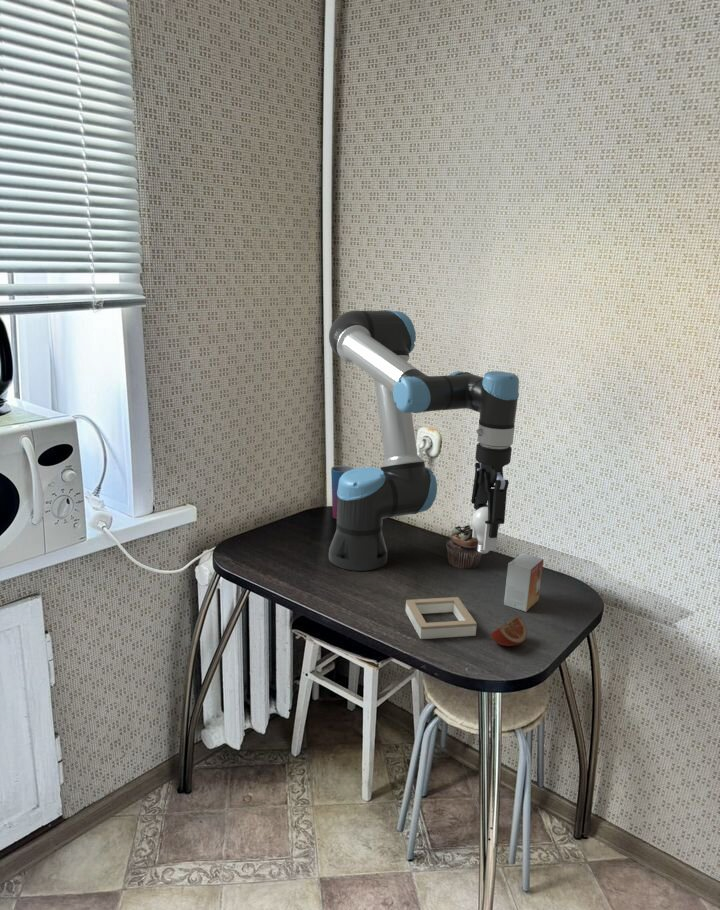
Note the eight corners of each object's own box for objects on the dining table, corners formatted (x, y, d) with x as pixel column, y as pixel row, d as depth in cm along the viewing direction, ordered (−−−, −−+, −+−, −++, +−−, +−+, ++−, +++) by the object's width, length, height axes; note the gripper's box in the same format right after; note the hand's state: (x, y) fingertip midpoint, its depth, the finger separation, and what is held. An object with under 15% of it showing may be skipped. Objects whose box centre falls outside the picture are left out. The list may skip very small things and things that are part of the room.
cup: (330, 520, 210) (331, 471, 206) (329, 512, 217) (330, 465, 213) (353, 520, 211) (355, 472, 207) (351, 512, 217) (353, 465, 213)
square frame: (405, 611, 158) (406, 599, 157) (456, 608, 161) (457, 597, 160) (420, 639, 147) (421, 626, 146) (475, 635, 149) (476, 623, 149)
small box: (526, 612, 160) (531, 569, 157) (503, 605, 163) (507, 562, 160) (539, 600, 166) (544, 558, 164) (516, 593, 170) (521, 552, 167)
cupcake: (489, 564, 185) (493, 528, 182) (464, 573, 179) (467, 536, 176) (462, 552, 192) (466, 517, 189) (437, 560, 186) (439, 524, 183)
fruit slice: (505, 630, 152) (507, 609, 151) (532, 642, 148) (535, 621, 146) (482, 644, 146) (485, 622, 145) (511, 657, 142) (513, 635, 140)
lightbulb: (477, 545, 165) (482, 500, 162) (502, 553, 161) (507, 507, 158) (463, 553, 160) (467, 507, 157) (488, 561, 157) (493, 515, 153)
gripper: (463, 432, 162) (454, 527, 168) (494, 457, 144) (483, 562, 150) (494, 432, 163) (484, 526, 170) (529, 457, 145) (516, 561, 152)
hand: (483, 543), depth 160 cm, fingers closed on lightbulb, 6 cm apart
